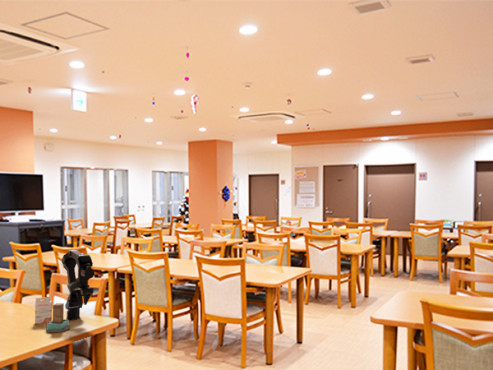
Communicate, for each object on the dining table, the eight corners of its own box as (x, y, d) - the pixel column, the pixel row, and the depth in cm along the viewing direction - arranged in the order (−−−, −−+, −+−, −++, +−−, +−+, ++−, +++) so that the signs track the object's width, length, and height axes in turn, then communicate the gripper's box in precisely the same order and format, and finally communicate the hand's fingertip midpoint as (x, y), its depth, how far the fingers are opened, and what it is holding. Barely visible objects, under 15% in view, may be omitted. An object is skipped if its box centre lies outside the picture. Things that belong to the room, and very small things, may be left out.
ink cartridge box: (52, 320, 251) (52, 295, 252) (50, 322, 247) (51, 297, 247) (36, 321, 249) (37, 296, 250) (34, 323, 244) (35, 298, 245)
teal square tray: (53, 326, 240) (53, 318, 240) (73, 326, 239) (73, 318, 239) (41, 332, 228) (41, 324, 228) (62, 333, 227) (62, 324, 227)
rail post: (56, 326, 235) (56, 303, 236) (63, 326, 235) (63, 303, 235) (52, 328, 231) (53, 305, 232) (59, 329, 231) (60, 305, 231)
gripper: (63, 275, 247) (63, 302, 246) (74, 280, 232) (73, 308, 232) (82, 273, 254) (82, 299, 253) (94, 278, 240) (93, 305, 239)
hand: (82, 303), depth 244 cm, fingers open, 9 cm apart
